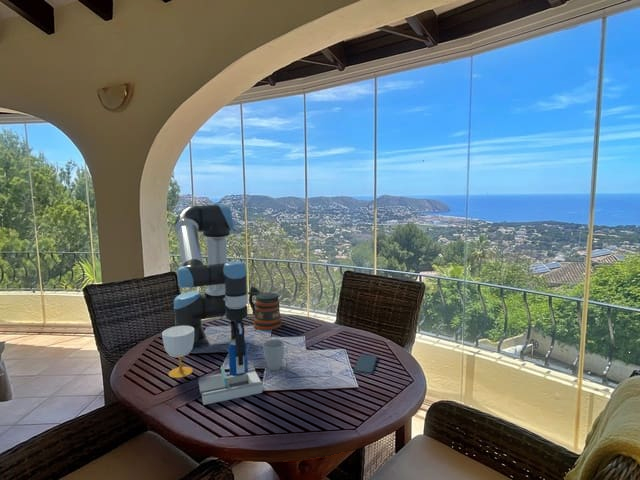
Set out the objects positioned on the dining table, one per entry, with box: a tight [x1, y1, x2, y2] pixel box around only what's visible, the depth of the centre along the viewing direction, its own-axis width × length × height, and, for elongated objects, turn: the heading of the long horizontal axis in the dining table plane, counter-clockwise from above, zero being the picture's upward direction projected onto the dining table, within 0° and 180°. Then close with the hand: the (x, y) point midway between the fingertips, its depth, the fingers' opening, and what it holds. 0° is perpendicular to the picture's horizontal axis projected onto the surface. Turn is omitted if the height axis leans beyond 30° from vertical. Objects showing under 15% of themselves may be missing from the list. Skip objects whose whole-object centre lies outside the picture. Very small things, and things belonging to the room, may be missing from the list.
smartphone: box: [353, 353, 378, 375], centre depth 154 cm, size 8×2×15 cm
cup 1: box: [161, 325, 194, 379], centre depth 147 cm, size 12×12×17 cm
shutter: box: [197, 366, 228, 395], centre depth 132 cm, size 9×9×4 cm
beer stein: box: [247, 285, 282, 331], centre depth 199 cm, size 19×15×20 cm
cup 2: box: [263, 339, 285, 371], centre depth 152 cm, size 8×8×10 cm
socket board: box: [199, 367, 263, 406], centre depth 135 cm, size 12×20×4 cm, turn 112°
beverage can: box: [227, 339, 249, 377], centre depth 135 cm, size 6×6×12 cm
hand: (238, 368), depth 135 cm, fingers closed on beverage can, 6 cm apart
